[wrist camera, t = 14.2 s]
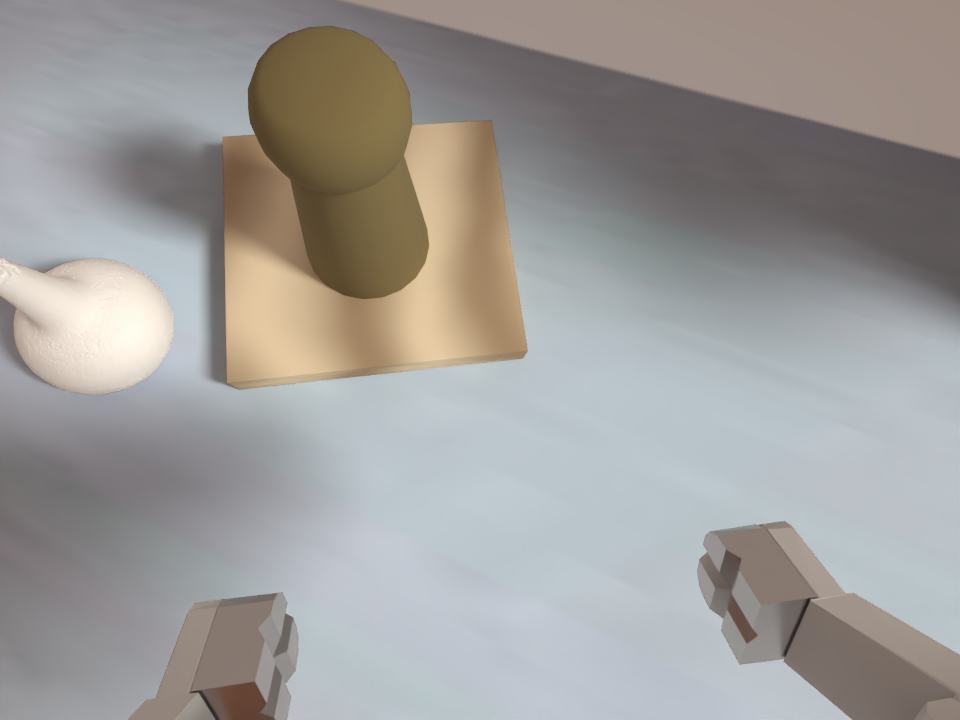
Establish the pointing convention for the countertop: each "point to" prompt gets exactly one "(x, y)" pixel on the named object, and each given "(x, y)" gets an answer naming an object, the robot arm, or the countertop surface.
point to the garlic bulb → (88, 323)
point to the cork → (343, 156)
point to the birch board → (378, 321)
